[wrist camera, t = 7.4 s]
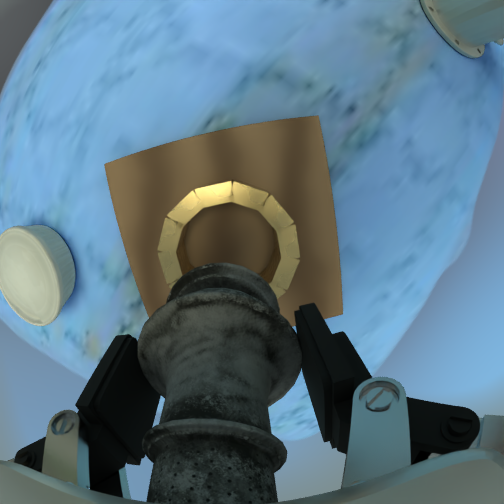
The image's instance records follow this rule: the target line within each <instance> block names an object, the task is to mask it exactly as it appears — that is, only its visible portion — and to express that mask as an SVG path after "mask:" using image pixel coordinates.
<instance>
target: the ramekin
mask: <svg viewBox="0 0 504 504" xmlns="http://www.w3.org/2000/svg"><path fill="white" fill-rule="evenodd" d="M74 284H75V266H74V262H73V258H72V255H71V253H70V250H69V248H68V247H67V245H66V243H65V242H64V240H63V239H62V238H61V236H60V235H59V234H58V233H56V232H55V231H54V230H52V229H51V228H49V227H47V226H43V225H31V226H14V227H11V228H9V229H7V230H5V231H4V232H3V233H2V234H1V236H0V289H1V291H2V293H3V295H4V297H5V299H6V301H7V302H8V304H9V305H10V306H11V308H12V309H13V310H14V311H15V312H16V313H17V314H18V315H19V316H20V317H21V318H22V319H24V320H25V321H27V322H28V323H31V324H33V325H36V326H45V325H48V324H50V323H52V322H53V321H54V320H55V319H56V318H57V317H58V315H59V314H60V312H61V309H62V307H63V306H64V304H65V303H66V301H67V300H68V298H69V297H70V295H71V293H72V292H73V288H74Z"/></svg>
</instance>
